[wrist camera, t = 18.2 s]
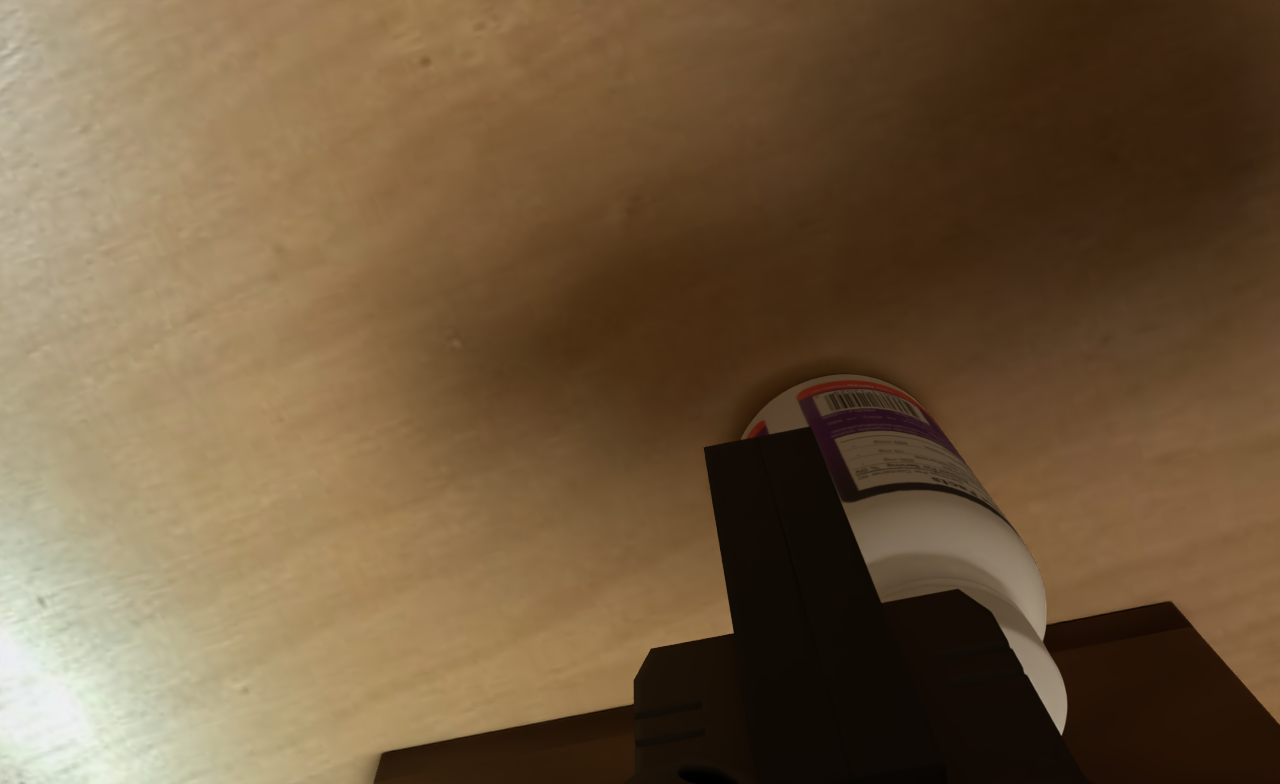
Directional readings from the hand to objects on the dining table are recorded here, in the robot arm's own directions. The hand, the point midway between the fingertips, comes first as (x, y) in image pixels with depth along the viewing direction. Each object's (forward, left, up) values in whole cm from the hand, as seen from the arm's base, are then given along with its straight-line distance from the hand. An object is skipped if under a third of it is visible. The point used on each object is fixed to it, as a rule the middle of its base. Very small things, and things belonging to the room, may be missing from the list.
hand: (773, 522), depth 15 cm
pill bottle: (-2, +5, -11) cm, 12 cm away
